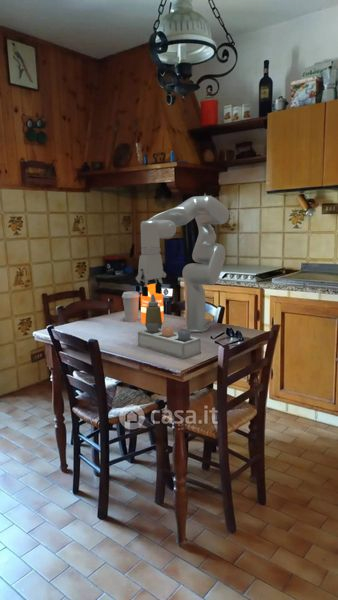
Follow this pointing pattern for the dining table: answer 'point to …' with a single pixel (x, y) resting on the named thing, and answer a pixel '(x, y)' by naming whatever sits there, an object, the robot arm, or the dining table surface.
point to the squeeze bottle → (153, 312)
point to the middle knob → (167, 332)
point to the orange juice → (147, 299)
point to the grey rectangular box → (169, 344)
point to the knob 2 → (184, 335)
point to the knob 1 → (152, 328)
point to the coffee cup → (131, 305)
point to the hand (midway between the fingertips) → (151, 294)
